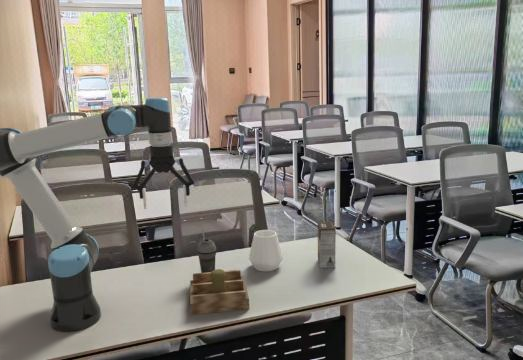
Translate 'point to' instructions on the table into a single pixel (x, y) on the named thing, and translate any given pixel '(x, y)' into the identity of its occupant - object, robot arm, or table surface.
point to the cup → (265, 251)
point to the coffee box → (326, 244)
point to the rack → (222, 301)
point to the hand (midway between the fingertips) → (165, 206)
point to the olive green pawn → (218, 281)
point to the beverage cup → (206, 255)
